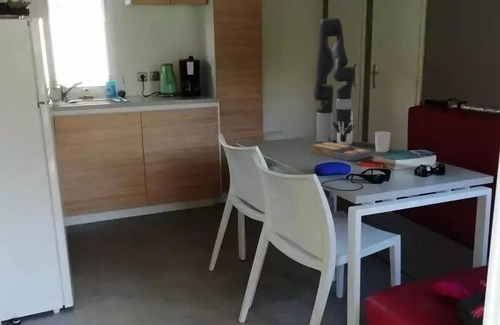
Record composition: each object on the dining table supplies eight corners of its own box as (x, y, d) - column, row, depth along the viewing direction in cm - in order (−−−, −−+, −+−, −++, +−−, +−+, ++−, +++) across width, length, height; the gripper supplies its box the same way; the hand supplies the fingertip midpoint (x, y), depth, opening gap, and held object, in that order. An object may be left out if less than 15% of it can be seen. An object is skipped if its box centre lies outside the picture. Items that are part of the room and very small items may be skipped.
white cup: (372, 152, 272) (373, 133, 270) (376, 149, 279) (377, 131, 276) (387, 153, 268) (388, 134, 266) (391, 150, 275) (391, 131, 273)
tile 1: (358, 152, 258) (358, 157, 259) (350, 150, 262) (350, 155, 263) (351, 153, 255) (351, 158, 256) (343, 152, 259) (343, 157, 260)
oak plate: (329, 148, 283) (329, 141, 282) (351, 153, 271) (351, 145, 270) (310, 152, 275) (310, 145, 274) (333, 157, 262) (333, 149, 261)
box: (352, 152, 271) (353, 147, 271) (371, 156, 262) (371, 150, 261) (331, 157, 262) (331, 152, 261) (350, 161, 253) (350, 155, 252)
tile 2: (366, 150, 262) (366, 155, 263) (358, 149, 266) (358, 153, 266) (360, 151, 259) (360, 156, 259) (352, 150, 263) (352, 155, 263)
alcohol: (333, 143, 298) (334, 91, 292) (346, 141, 302) (347, 90, 295) (342, 145, 291) (343, 92, 284) (355, 144, 294) (356, 91, 287)
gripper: (359, 108, 254) (358, 142, 258) (338, 105, 264) (338, 138, 268) (348, 109, 249) (348, 144, 254) (328, 107, 260) (328, 141, 264)
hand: (343, 141), depth 261 cm, fingers closed
